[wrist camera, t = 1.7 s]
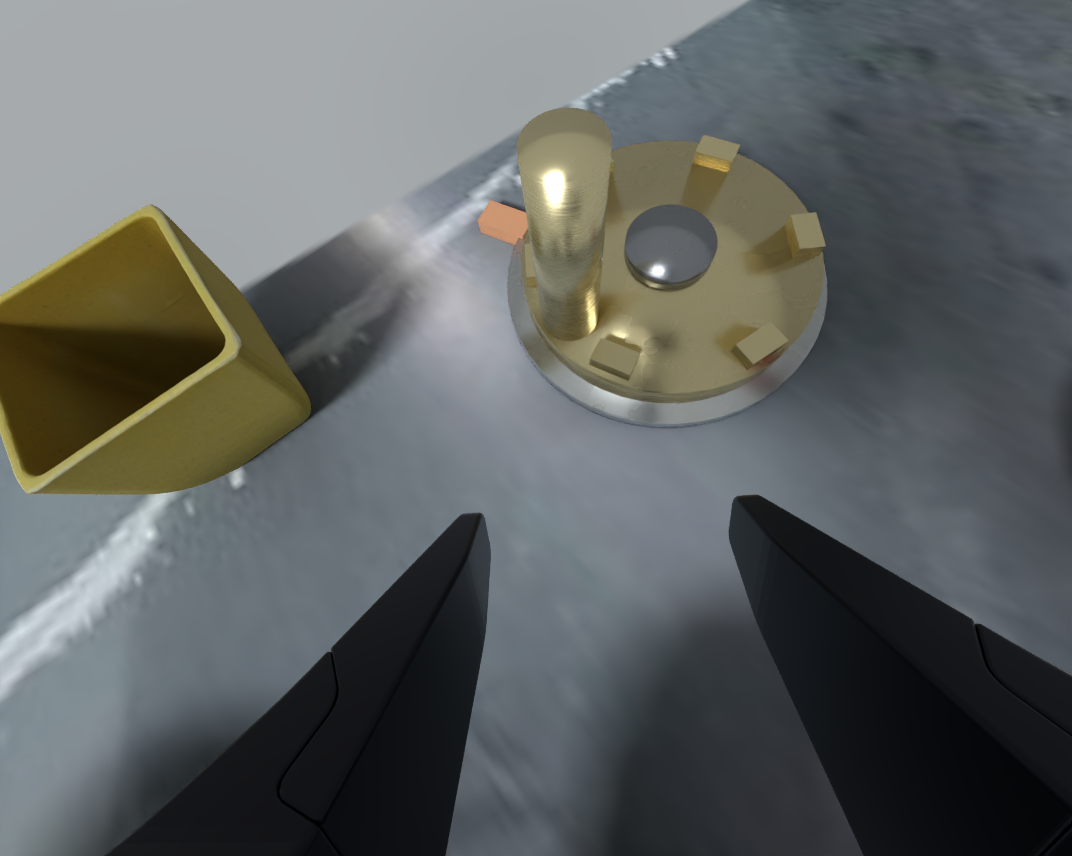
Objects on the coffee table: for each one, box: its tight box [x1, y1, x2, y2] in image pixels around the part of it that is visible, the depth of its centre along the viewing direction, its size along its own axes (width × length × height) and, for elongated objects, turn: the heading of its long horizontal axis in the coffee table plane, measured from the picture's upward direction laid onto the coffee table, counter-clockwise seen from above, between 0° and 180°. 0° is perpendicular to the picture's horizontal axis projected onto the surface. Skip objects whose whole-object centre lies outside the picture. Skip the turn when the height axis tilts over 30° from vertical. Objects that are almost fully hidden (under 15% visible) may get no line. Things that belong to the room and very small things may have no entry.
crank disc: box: [517, 108, 826, 403], centre depth 19 cm, size 15×15×11 cm
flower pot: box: [0, 205, 311, 494], centre depth 21 cm, size 9×9×9 cm
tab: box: [478, 200, 528, 245], centre depth 27 cm, size 3×2×1 cm, turn 63°
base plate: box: [507, 204, 827, 428], centre depth 23 cm, size 17×17×4 cm
